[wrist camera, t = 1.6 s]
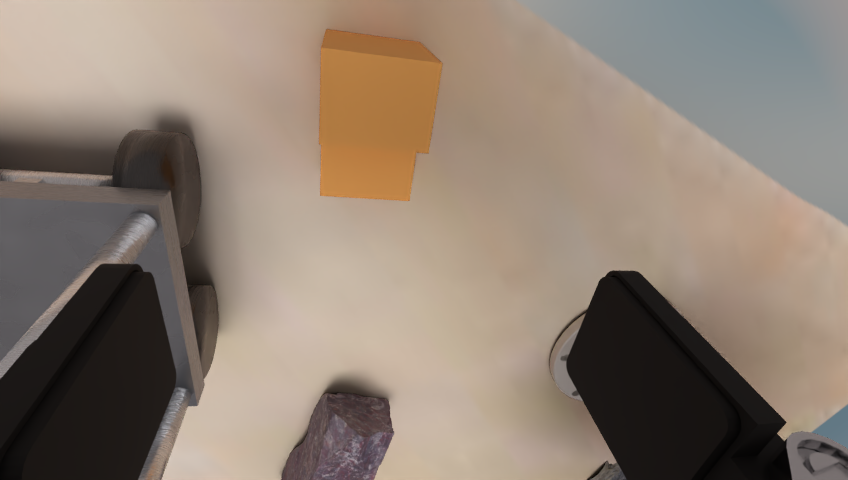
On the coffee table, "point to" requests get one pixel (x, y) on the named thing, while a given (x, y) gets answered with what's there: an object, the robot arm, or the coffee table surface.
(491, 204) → the coffee table surface
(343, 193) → the block
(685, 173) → the coffee table surface
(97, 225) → the trolley
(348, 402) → the stone
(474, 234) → the coffee table surface
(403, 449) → the coffee table surface
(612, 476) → the grey flat jagged piece
